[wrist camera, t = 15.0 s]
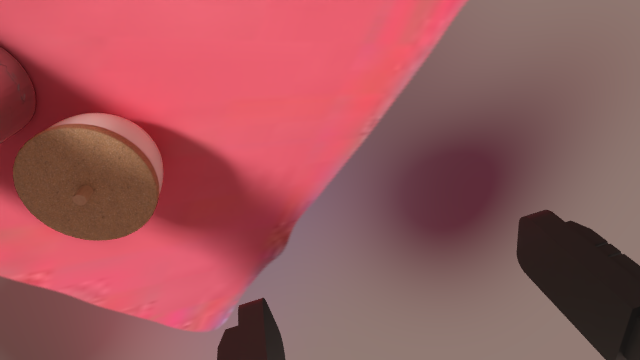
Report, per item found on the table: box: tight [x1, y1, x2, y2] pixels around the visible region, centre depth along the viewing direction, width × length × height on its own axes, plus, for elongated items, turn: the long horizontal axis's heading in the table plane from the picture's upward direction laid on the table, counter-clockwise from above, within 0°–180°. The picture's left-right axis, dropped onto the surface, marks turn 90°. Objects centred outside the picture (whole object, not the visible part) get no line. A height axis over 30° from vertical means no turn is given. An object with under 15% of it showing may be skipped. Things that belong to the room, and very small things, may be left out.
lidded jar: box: [13, 113, 164, 240], centre depth 34 cm, size 11×11×9 cm
